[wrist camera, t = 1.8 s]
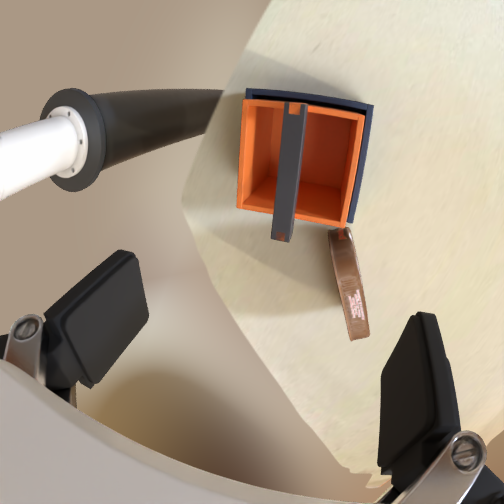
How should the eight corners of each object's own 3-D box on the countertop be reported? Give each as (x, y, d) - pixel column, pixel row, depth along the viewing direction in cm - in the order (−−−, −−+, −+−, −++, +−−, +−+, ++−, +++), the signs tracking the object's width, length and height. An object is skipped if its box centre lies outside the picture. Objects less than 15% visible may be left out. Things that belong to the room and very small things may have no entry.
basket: (264, 179, 35) (218, 229, 23) (271, 98, 30) (223, 97, 18) (343, 193, 33) (343, 254, 21) (356, 110, 28) (370, 116, 16)
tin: (327, 219, 36) (322, 252, 29) (351, 214, 34) (353, 245, 27) (349, 312, 41) (347, 354, 34) (370, 309, 40) (372, 351, 33)
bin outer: (256, 183, 36) (238, 202, 30) (264, 90, 30) (245, 88, 24) (350, 200, 34) (352, 223, 28) (366, 105, 28) (373, 105, 22)
